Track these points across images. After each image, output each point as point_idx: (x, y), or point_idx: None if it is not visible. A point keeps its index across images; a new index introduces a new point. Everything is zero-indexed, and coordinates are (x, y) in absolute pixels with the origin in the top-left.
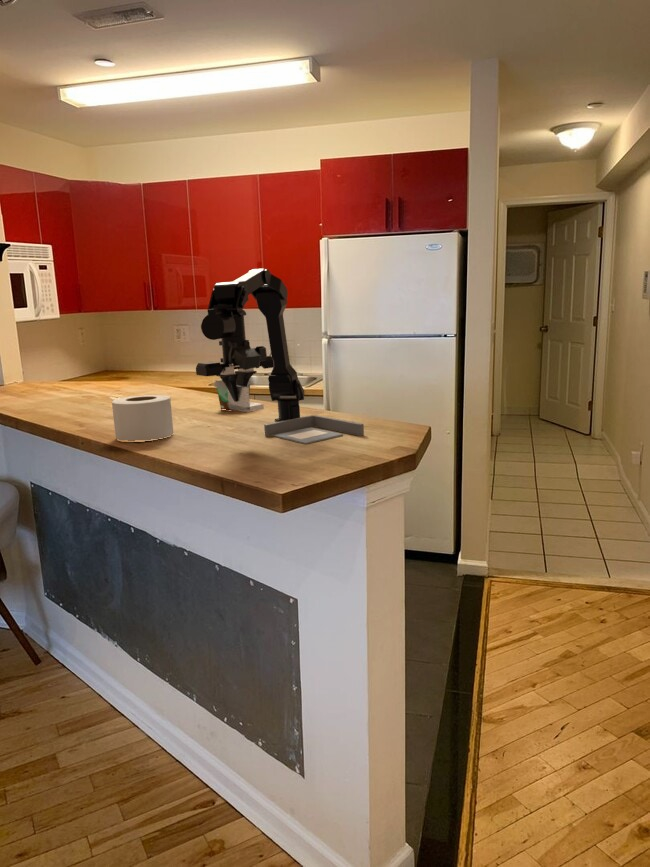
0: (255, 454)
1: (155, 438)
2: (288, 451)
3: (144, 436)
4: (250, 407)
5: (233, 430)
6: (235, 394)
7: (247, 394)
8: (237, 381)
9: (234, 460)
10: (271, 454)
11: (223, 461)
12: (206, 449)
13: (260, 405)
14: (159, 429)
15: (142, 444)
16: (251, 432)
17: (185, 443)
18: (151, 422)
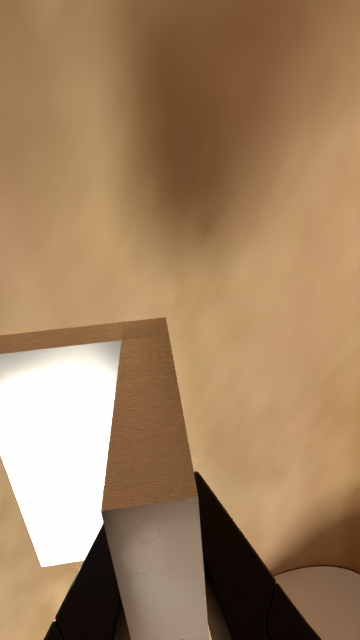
0: (167, 156)
1: (312, 574)
2: (3, 71)
3: (346, 585)
4: (118, 335)
5: (63, 564)
6: (223, 520)
7: (138, 411)
8: None
9: (292, 124)
10: (106, 86)
11: (331, 149)
12: (265, 386)
13: (3, 349)
14: (308, 606)
15: (352, 552)
16: (18, 510)
17: (267, 499)
18: (346, 636)
